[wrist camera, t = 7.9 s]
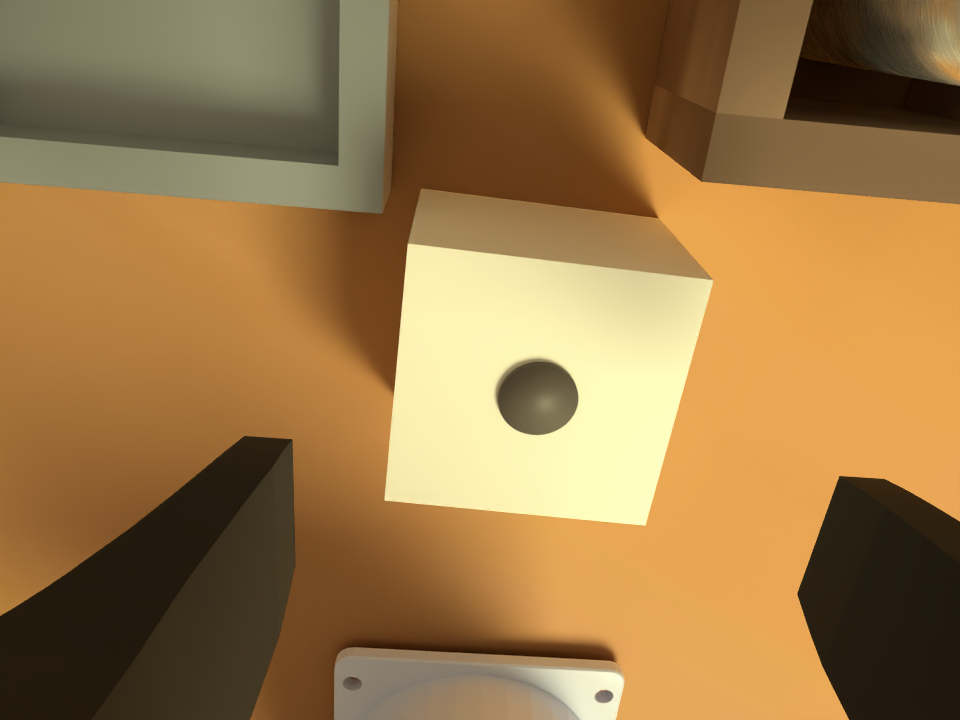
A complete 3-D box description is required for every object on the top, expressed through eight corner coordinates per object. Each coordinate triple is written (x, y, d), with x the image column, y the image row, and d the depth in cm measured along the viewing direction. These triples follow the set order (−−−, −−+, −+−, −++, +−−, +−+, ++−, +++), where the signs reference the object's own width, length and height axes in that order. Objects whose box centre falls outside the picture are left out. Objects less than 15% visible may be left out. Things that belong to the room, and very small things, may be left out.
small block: (609, 420, 18) (646, 529, 14) (400, 397, 18) (383, 503, 14) (657, 216, 16) (715, 282, 12) (421, 186, 16) (407, 245, 12)
